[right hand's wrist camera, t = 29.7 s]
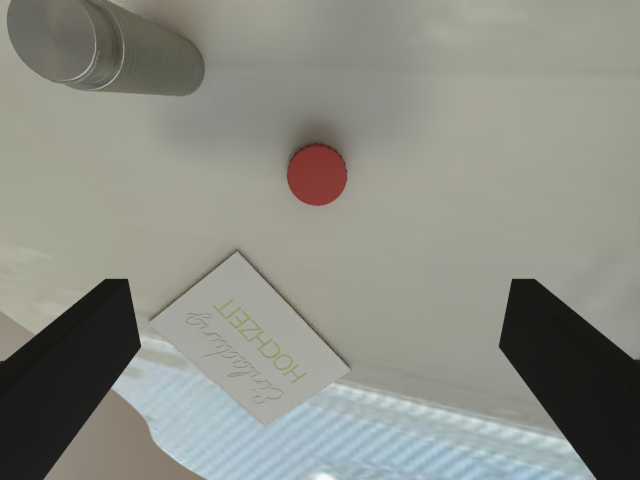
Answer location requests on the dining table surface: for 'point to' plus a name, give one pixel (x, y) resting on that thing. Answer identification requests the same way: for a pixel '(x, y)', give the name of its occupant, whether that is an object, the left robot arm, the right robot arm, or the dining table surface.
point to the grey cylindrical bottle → (102, 48)
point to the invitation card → (249, 341)
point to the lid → (317, 174)
